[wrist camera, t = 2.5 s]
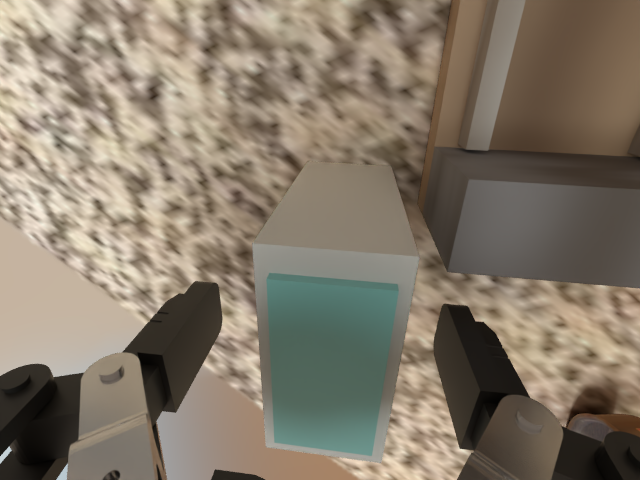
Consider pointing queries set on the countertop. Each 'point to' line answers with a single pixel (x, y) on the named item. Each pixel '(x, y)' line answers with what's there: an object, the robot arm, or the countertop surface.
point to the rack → (537, 141)
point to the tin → (604, 424)
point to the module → (333, 309)
